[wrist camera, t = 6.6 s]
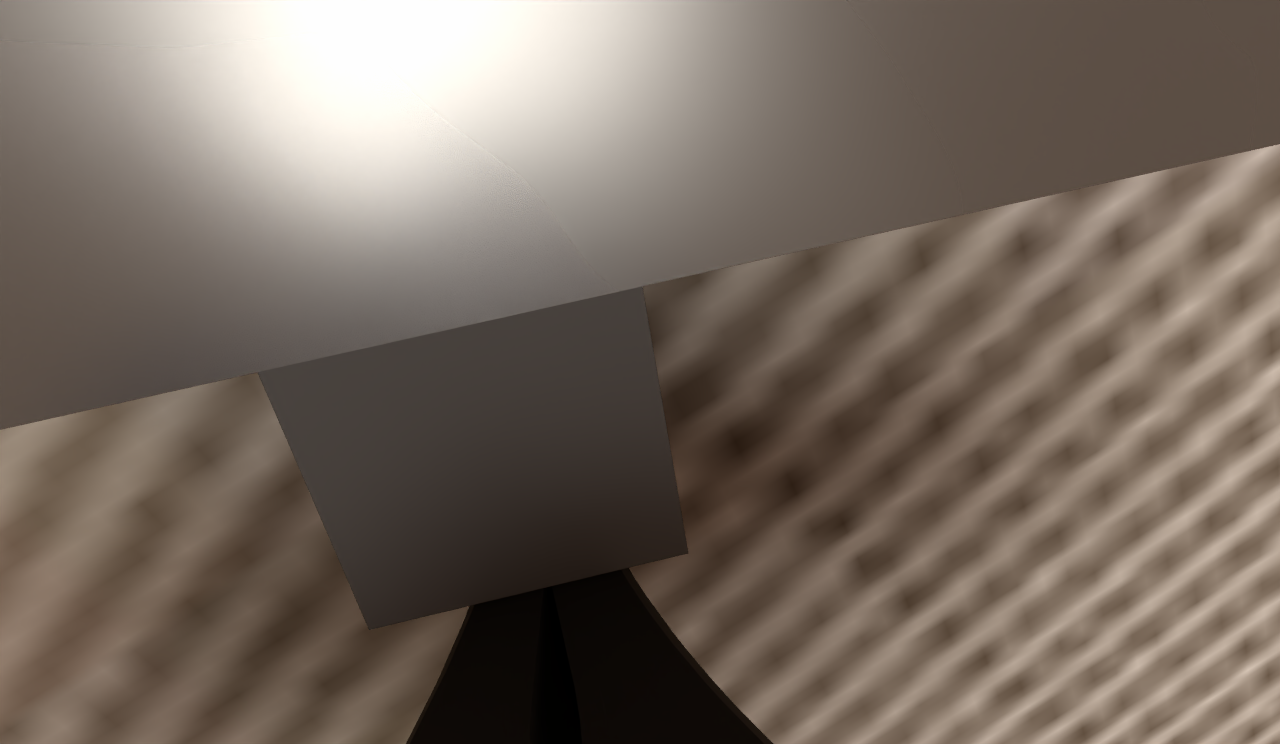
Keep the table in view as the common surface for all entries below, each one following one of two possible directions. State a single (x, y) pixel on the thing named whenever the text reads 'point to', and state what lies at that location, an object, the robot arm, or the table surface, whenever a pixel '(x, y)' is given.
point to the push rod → (487, 456)
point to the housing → (533, 155)
